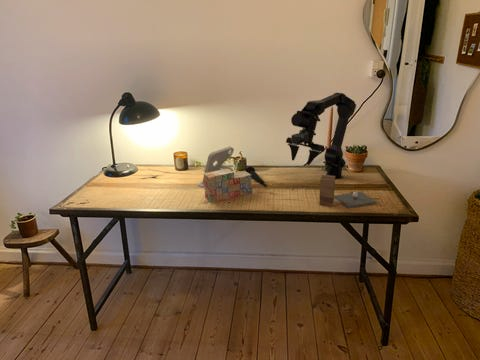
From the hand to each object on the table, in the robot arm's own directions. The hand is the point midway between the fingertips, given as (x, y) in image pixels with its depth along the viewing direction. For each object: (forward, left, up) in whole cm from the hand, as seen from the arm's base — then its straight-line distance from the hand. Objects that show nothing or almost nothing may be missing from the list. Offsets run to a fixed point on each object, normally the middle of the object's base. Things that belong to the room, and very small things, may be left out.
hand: (300, 162), depth 184 cm
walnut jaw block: (-5, +17, -14) cm, 23 cm away
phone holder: (+34, -25, -14) cm, 44 cm away
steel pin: (-18, +19, -14) cm, 30 cm away
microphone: (+15, -21, -15) cm, 29 cm away
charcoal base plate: (-18, +19, -14) cm, 30 cm away
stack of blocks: (+33, -7, -14) cm, 37 cm away
